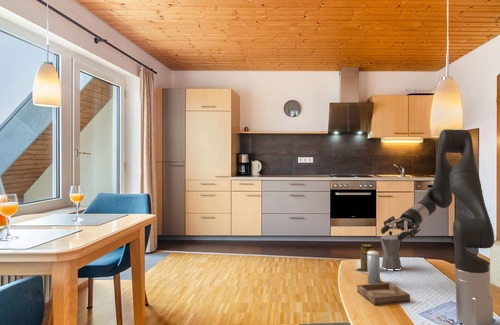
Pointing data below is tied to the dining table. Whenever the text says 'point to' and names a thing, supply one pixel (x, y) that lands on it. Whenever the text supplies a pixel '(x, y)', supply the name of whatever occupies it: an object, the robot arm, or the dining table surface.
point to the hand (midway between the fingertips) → (389, 235)
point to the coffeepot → (391, 251)
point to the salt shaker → (373, 267)
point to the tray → (383, 293)
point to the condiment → (364, 257)
